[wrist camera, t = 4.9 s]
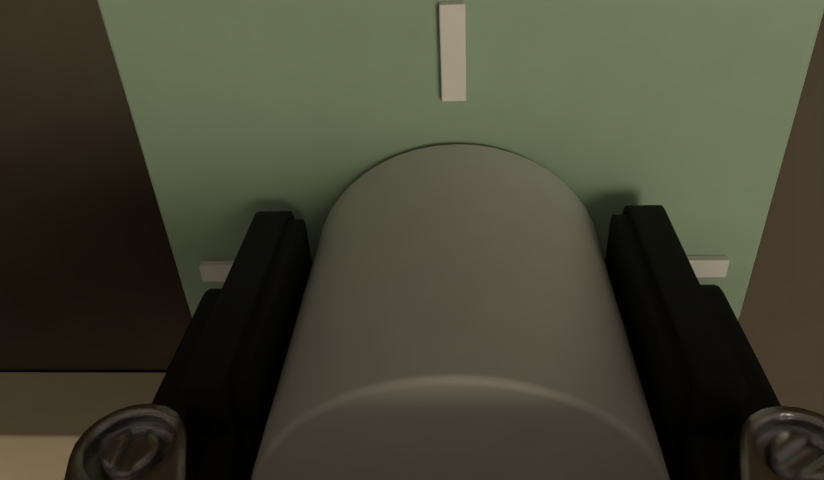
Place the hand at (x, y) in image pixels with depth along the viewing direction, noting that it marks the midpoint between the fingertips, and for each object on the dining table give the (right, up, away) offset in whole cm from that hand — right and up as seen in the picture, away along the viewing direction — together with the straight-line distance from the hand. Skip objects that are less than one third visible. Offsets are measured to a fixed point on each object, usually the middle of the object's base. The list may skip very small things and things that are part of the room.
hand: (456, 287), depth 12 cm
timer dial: (0, 0, 0) cm, 1 cm away
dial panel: (0, +2, +3) cm, 4 cm away
